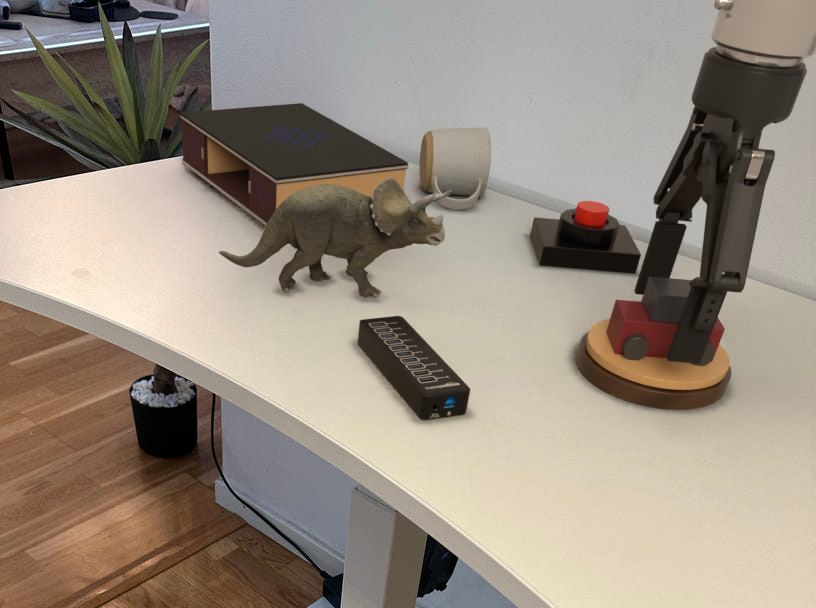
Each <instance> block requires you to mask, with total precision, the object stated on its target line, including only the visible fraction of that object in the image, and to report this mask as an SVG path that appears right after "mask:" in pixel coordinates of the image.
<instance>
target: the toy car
mask: <svg viewBox="0 0 816 608" xmlns="http://www.w3.org/2000/svg"><path fill="white" fill-rule="evenodd" d="M692 280H693V279H683V278H672V277H670V278H661V277H649V279H648V282H647V285H646V288H645V291H644V295H642V298H641V300H640V301H637V300H624V299H615V301H614V305H613V308H612V310H611V314H610V317H609V318H605V319H603V320H599V321H598V322H596V323H595V324H593V325H592V326H591V327H590V329H589V330H588V331H589V332H588V331H587V332H588V335H587V339H586V348H587V351H588V353H589V354H590V356H591V357H592V358H593V359H594V360H595V361H596V362H597V363H598V364H600V365H601V366H602V367H604V368H605V369H607V370H608V371H610V372H612V373H614V374H616V375H618V376H620V377H623V378H625V379H628V380H630V381H633V382H637V383H640V384H643V385H648V386H652V387H657V388H663V389H672V390H693V389H701V388H706V387H709V386H712V385H715V384H717V383H718V382H720V381H721V380H722V379H723V378H724V377H725V375H726V373H727V371H728V368H729V365H730V364H731V361H730V355H729V354H728V352H727V351H726V349H725V348H724V347H723V346H722V345H721V344H720V343H721V341H722V338H723V335H724V333H725V330H726V328H725V326H724V325H723V323H722V322H721V320H720V318H719V316H718V317H717V320H716V323H715V325H714V328H713V330H712V333H711V336H710V338H709V341H708V343H707V346H706V349H705V351H704V354H703V356H702V359H701V362H700V364H696V363H684V362H673V361H668V359H667V354H668V351H669V348H670V346H671V343H672V340H673V337H674V334H675V331H676V329H677V326H678V323H679V320H680V317H681V315H682V312H683V309H684V306H685V303H686V300H687V298H688V295H689V292H690V289H691V287H690V282H691V281H692ZM730 366H731V365H730Z"/></svg>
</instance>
